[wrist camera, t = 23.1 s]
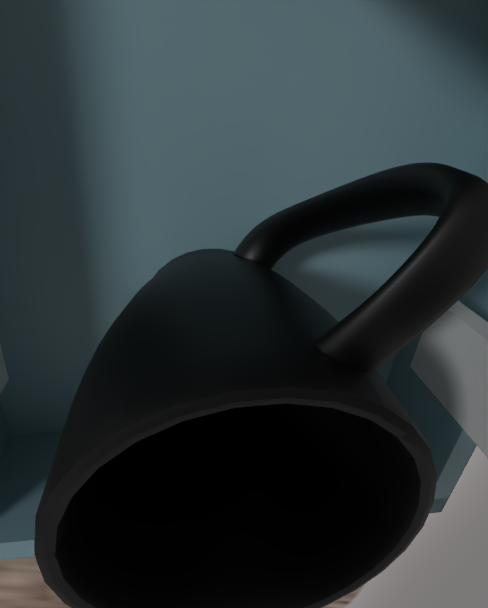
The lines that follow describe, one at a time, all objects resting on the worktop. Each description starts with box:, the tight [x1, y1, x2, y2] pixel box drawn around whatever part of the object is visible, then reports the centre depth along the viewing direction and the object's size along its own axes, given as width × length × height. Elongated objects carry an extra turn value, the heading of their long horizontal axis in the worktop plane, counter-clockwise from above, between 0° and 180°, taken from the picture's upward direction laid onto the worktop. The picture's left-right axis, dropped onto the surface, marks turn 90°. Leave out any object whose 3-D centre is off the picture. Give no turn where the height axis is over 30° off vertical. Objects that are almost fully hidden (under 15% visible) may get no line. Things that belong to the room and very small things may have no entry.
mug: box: [34, 162, 488, 608], centre depth 11 cm, size 8×12×10 cm
